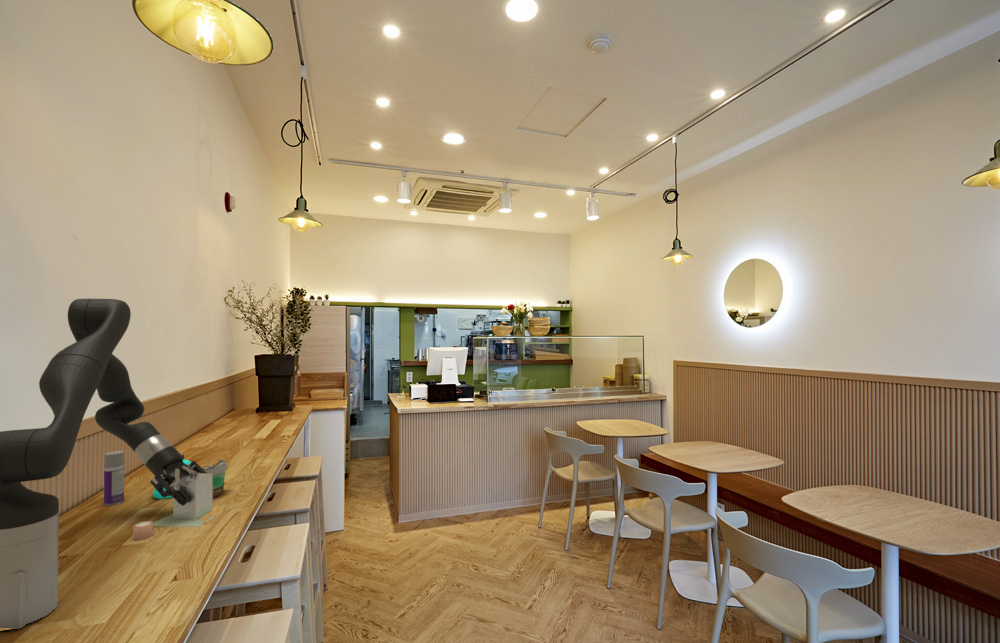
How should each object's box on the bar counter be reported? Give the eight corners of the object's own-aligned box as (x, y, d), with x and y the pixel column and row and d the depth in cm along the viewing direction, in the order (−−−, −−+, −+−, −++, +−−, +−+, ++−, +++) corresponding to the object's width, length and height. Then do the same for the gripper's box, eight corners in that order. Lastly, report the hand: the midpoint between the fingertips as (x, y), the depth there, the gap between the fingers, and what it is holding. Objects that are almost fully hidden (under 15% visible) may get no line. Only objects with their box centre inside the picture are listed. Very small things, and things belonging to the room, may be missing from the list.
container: (100, 504, 136) (101, 453, 136) (119, 499, 140) (119, 450, 141) (108, 506, 134) (108, 455, 134) (127, 501, 138) (127, 451, 138)
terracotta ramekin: (147, 541, 111) (147, 526, 111) (129, 542, 110) (129, 527, 111) (155, 534, 115) (156, 520, 115) (139, 535, 114) (139, 521, 114)
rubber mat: (198, 528, 118) (198, 526, 118) (147, 527, 119) (147, 525, 119) (234, 507, 132) (234, 506, 132) (188, 506, 133) (188, 505, 133)
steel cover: (195, 520, 122) (195, 476, 122) (173, 519, 123) (173, 476, 123) (212, 511, 128) (212, 469, 129) (191, 510, 129) (191, 469, 129)
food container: (204, 506, 133) (205, 471, 134) (187, 504, 135) (187, 470, 135) (237, 491, 146) (237, 460, 146) (220, 490, 147) (220, 459, 147)
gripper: (146, 452, 119) (187, 497, 118) (187, 439, 134) (224, 479, 133) (127, 472, 120) (168, 517, 119) (170, 457, 134) (207, 497, 133)
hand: (198, 497), depth 126 cm, fingers open, 8 cm apart
